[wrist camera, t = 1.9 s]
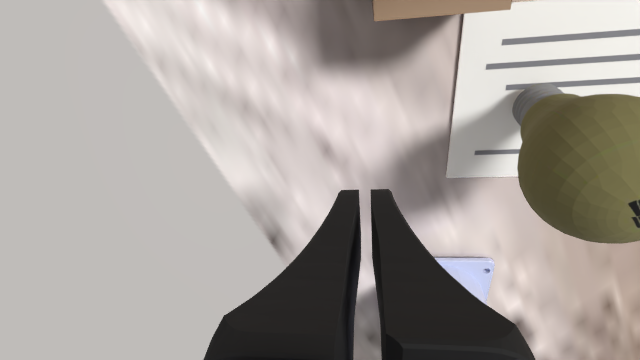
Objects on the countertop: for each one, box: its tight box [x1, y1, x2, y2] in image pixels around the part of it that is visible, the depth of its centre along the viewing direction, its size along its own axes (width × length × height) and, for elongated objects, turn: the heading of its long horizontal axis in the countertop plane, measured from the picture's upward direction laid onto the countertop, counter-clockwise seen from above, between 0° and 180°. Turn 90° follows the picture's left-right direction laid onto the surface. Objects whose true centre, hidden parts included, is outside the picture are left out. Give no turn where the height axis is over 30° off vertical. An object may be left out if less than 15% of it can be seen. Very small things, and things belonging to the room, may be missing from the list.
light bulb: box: [512, 83, 640, 243], centre depth 15 cm, size 6×6×10 cm
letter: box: [446, 0, 640, 178], centre depth 19 cm, size 10×14×1 cm
